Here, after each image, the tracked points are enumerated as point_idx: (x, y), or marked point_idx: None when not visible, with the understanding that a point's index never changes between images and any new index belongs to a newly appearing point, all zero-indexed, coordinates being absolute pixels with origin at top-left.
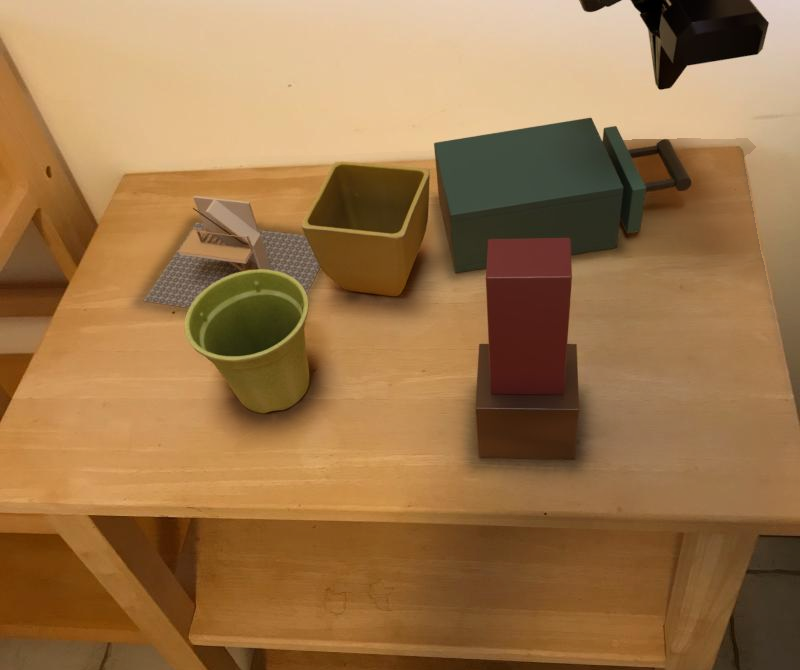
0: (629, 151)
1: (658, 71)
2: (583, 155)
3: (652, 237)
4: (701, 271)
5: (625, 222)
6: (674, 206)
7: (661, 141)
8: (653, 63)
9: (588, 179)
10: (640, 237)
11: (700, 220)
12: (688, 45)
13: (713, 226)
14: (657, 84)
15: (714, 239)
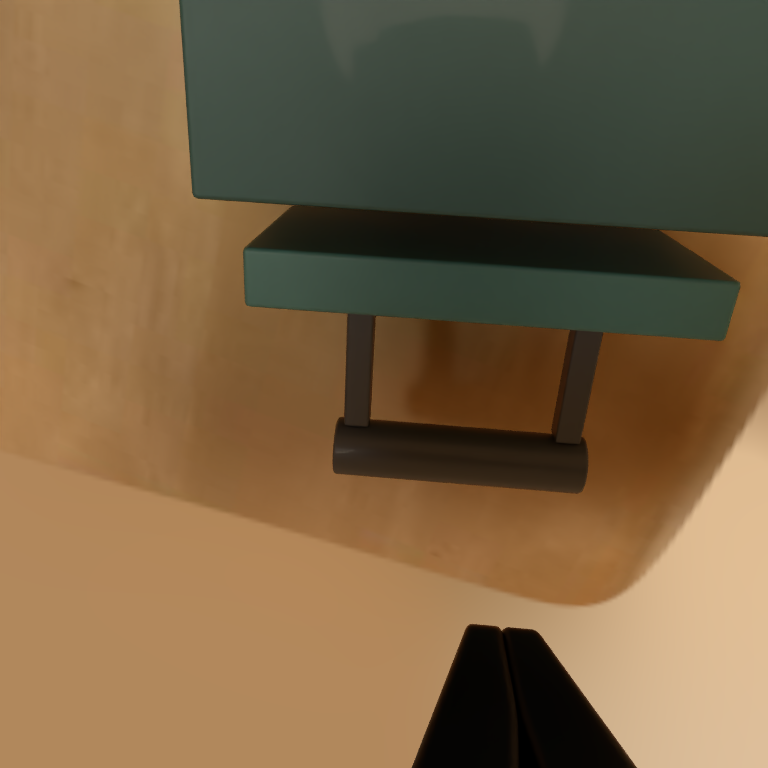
0: (587, 342)
1: (446, 740)
2: (507, 81)
3: None
4: (132, 358)
5: (313, 212)
6: (420, 395)
7: (577, 467)
8: (588, 752)
9: (291, 39)
10: None
11: None
12: None
13: (305, 454)
14: (483, 642)
15: (253, 436)
